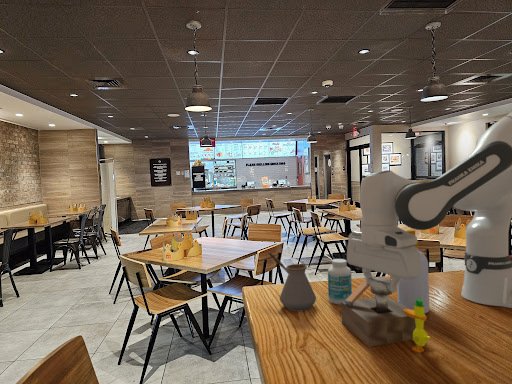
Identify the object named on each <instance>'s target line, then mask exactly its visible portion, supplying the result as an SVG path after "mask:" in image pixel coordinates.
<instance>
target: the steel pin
mask: <svg viewBox="0 0 512 384" xmlns="http://www.w3.org/2000/svg"><path fill="white" fill-rule="evenodd" d="M375 277H376V276H375ZM392 280H393V279H390V278H388V277H382V276H380V277H379V276H378V277H376V278H372V279H370V285H371V286H370V293H372V294H373V295H375V296H374V297H375V301H376V312H378V313H388V297H389V296H390V295H392V294H393V293H392V292H389V291H387V289H388V288H387V284H391V282H392Z"/></svg>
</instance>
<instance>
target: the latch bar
mask: <svg viewBox="0 0 512 384" xmlns="http://www.w3.org/2000/svg"><path fill="white" fill-rule="evenodd" d="M371 275H372V277H373V278H376V276H375V275H373V274H371ZM369 287H371V286H370V285H367V284H366V278H365V279H364V280H363V281H362V282H361V283H360V284H359V285H358V286H357V287H356V288H355V290H353V291H352V294H351V295H350V296H349V297H348V298H347V299H345V300H344V302H345V303H346V304H347V305H349V306H350V307H351V306H353V303H354V302H355V301H356V300H358V299H360V297H361V296H362V295H363V294H364V293H365V292H366V290H368V288H369Z"/></svg>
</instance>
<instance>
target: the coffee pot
mask: <svg viewBox="0 0 512 384" xmlns="http://www.w3.org/2000/svg"><path fill="white" fill-rule="evenodd" d="M268 255H269V256H268ZM266 256H267V259H268V258H269V259H270V258H271V259H272V260H274V262H275V263H276V264H277V265H279V267H280V268H282V269H283V270H285V272H286V274H288V275H287V277H286V280H285V282H284V284H283V288H282V290H281V294H280V296H279V300H280V303H281V304H282V305H283V306H284V307H285V308H286V309H287V310H288V311H292V312H304V311H305V312H306V311H308V310H310V309H311V307H313V305H314V304H315V303H316V302H317V297H316V293H315V292H314V290H313V288H312V285H311V283H310V281H309V279H308V276H307V275H306V270H307V268H308V266H307V265H306V264H298V263H296V264H289V265H287V266H285V265H284V264H283V262H281V261H280V259H279V258H277V257H276V256H275V255H274V254H273V253H271V252H268V253H267V254H266Z"/></svg>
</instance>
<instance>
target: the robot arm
mask: <svg viewBox="0 0 512 384" xmlns="http://www.w3.org/2000/svg"><path fill="white" fill-rule="evenodd" d="M359 206H360V211H361V220H360V231H359V232H358V231H351V232H350V233H349V235H348V242H347V249H346V250H347V251H346V261H347V264H349V266H350V265H351V266H354V267H359V268H361V271H362V273H363V276H364V277H365V279H366V284H367V285H370V279H372V278H373V277H372V275H373V274H372V273H371V272H372V271H374V272H377V273H381V274H385V275H389V276H390V277H389V279H391V280H392V282H391V284H387V288H388V289H387V291H389V292H392V294H393V293H396V292H398V291H397V284H398V282H399V281H400V279H401V278H405V279H409V280H410V279H414V278H417V277H418V276H419V275H420V272H421V268H420V256H419V252H418V250H419V248H418V249H417V248H416V247H415V246H414V245H415V244H417V240H418V237H417V236H416V234H415V235H413V234H411V233H408V232H406V231H407V230H404V229H402V228H401V227H398V226H399V225H398V221H400V222H401V223H403V225H405V226H407V227H408V228H410V229H411V230H416V231H426V230H430V229H433V228H434V227H437V226H438V225H439V224H440V223H442V222H443V221H444V219H445V217H446V216H447V215H448V213H449V212H450V211H451V209H452V208H453V207H454V208H455V209H457V210H461V211H466V212H474V214H473V216H472V219H471V221H470V222H469V223H468V224H467V226H466V228H465V252H464V265H465V268H464V275H463V283H462V284H463V285H462V286H461V294H460V295H461V297H462V298H464V299H465V300H468V301H470V302H473V303H476V304H480V305H486V306H495V307H503V308H508V309H512V254H511V255H510V254H509V230H510V225H511V221H512V111H511V112H510V113H508V114H506V115H505V116H503V117H502V118H500V119H499V120H497V121H496V122H495V123H493V124H492V125H491V126H489V127H488V128H487V129H486V130H485V131H484V132H483V133H481V135H479V136H478V138H477V140H476V143H475V148H474V149H473V151H472V152H471V153H470V155H468V156H467V157H466V158H464V160H462V161H461V162H459V163H457V164H456V165H454V166H453V167H452V168H450V169H449V170H447V171H446V172H445V173H443V174H442V175H440V176H438V177H437V178H435V179H432V180H431V181H427V182H422V183H421V182H417V181H414V180H410V179H409V178H405V177H404V176H403V177H402V176H401V175H398V174H397V173H395V172H394V171H393V170H388V169H386V170H381V171H377V172H373V173H368V174H366V175H365V176H364V177H363V178H362V180H361V183H360V189H359ZM369 287H371V285H370V286H369Z"/></svg>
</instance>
